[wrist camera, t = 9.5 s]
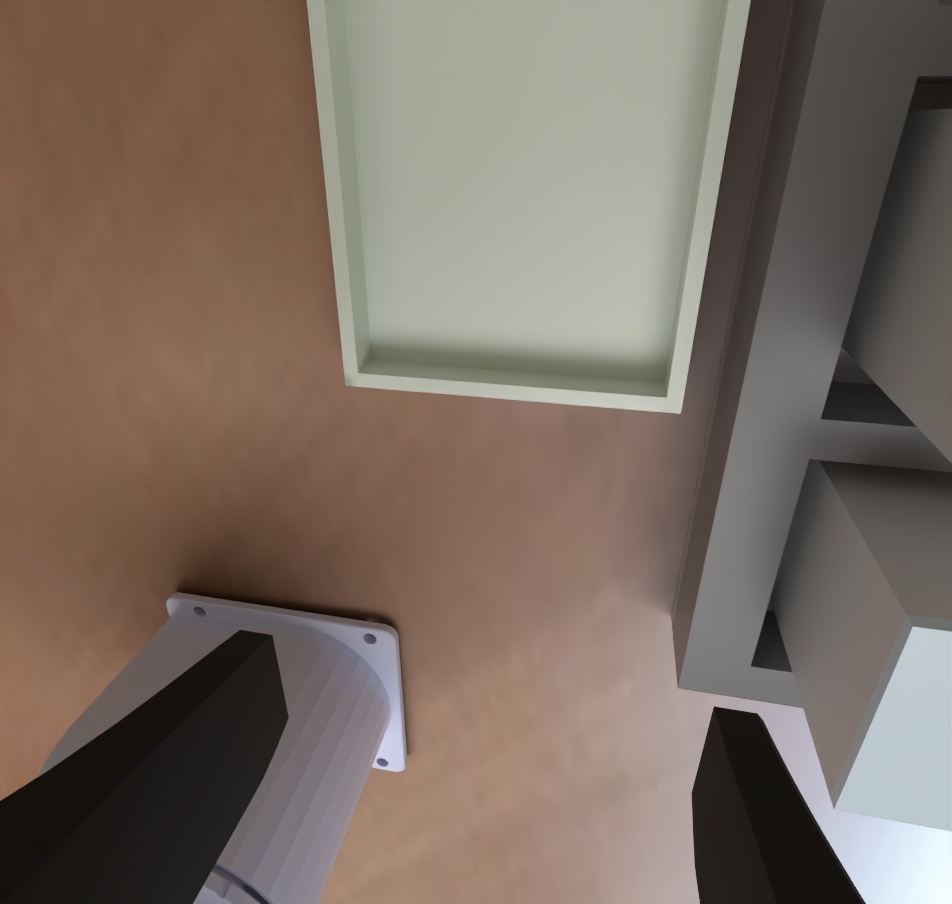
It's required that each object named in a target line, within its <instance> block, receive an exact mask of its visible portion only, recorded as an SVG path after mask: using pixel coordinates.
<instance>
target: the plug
mask: <svg viewBox="0 0 952 904" xmlns="http://www.w3.org/2000/svg"><path fill="white" fill-rule="evenodd" d="M841 347H842V348H843V349H844V350H845V351H846V352H847V353H848V355H849V356H850V357H851V358H852V359H853V360H854V361H855V362H856V363H857V364H858V365H859V366H860V367H861V368H862V369H863V370H864V371H865V372H866V374H867V375H868V376H869V377H870V378H871V379H872V380H873V381H874V382H875V383H876V384H877V385H878V386H879V387H880V388H881V389H882V390H883V391H884V393H885V394H886V395H887V396H888V397H889V398H890V399H891V400H892V401H893V402H894V403H895V404H896V405H897V406H898V407H899V408H900V409H901V410H902V412H903V413H904V414H905V415H906V416H907V417H908V418H909V419H910V420H911V421H912V422H913V423H914V424H915V425H916V426H917V427H918V428H919V429H920V431H921V432H922V433H923V434H924V435H925V436H926V437H927V438H928V439H929V440H930V441H931V442H932V443H933V444H934V445H935V446H936V447H937V449H938V450H939V451H940V452H941V453H942V454H943V455H944V456H945V457H946V458H947V459H948V460H949V461H950V462H951V463H952V109H929V110H908V112H907V116H906V120H905V123H904V127H903V130H902V134H901V137H900V141H899V144H898V148H897V151H896V155H895V158H894V162H893V165H892V169H891V173H890V176H889V180H888V183H887V187H886V190H885V194H884V197H883V201H882V204H881V208H880V211H879V215H878V218H877V222H876V225H875V229H874V233H873V236H872V240H871V243H870V247H869V250H868V254H867V257H866V261H865V264H864V268H863V271H862V275H861V278H860V282H859V285H858V289H857V293H856V296H855V300H854V303H853V307H852V310H851V314H850V317H849V321H848V324H847V328H846V331H845V335H844V338H843V342H842V346H841Z"/></svg>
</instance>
